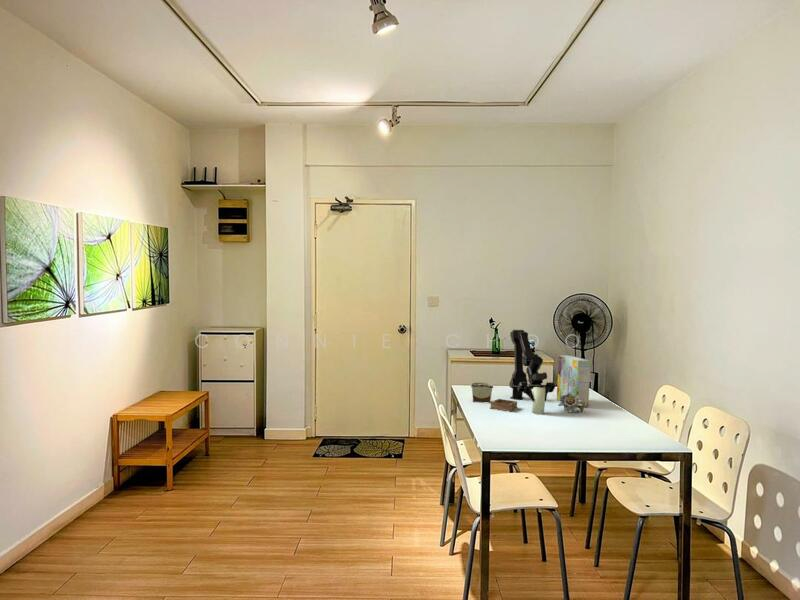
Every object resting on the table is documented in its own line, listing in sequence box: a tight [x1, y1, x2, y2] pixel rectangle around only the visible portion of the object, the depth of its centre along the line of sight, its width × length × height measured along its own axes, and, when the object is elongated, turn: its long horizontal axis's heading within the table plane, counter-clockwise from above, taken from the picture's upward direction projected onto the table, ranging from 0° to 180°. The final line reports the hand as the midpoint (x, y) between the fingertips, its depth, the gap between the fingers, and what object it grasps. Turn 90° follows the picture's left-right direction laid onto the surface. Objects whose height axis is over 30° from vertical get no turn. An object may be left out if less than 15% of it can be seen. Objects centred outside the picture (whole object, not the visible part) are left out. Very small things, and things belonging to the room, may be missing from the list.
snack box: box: [556, 355, 592, 408], centre depth 323 cm, size 22×9×26 cm, turn 14°
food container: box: [470, 382, 494, 403], centre depth 320 cm, size 12×6×10 cm, turn 84°
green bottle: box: [531, 387, 546, 415], centre depth 295 cm, size 6×6×13 cm
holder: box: [489, 398, 518, 413], centre depth 304 cm, size 11×11×4 cm
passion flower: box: [558, 392, 585, 414], centre depth 303 cm, size 11×11×12 cm
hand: (539, 400), depth 294 cm, fingers closed on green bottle, 6 cm apart
